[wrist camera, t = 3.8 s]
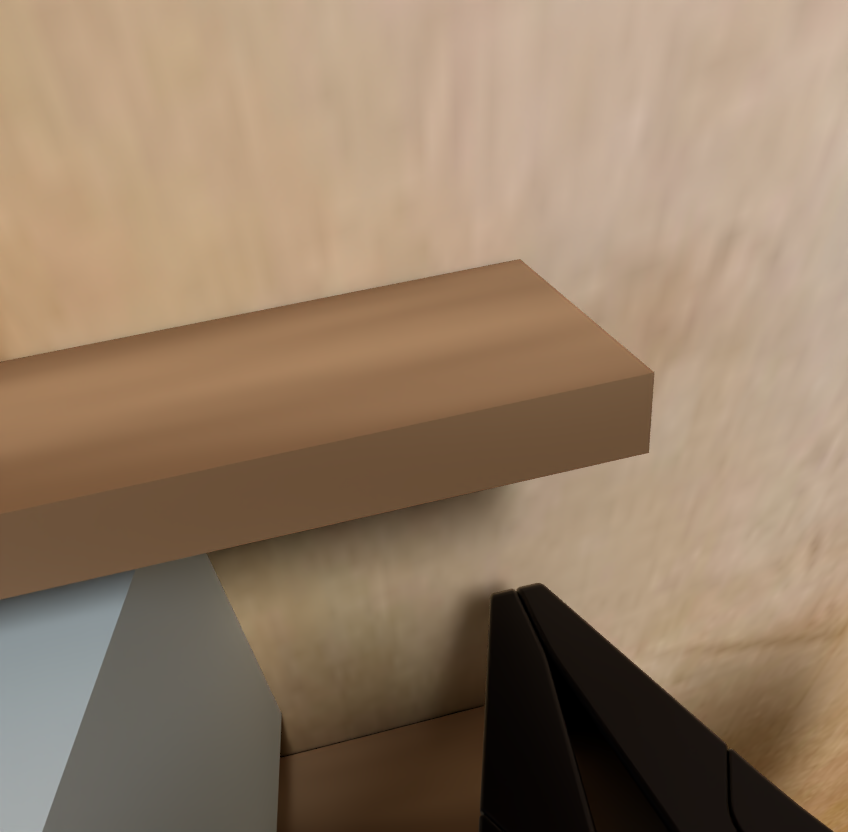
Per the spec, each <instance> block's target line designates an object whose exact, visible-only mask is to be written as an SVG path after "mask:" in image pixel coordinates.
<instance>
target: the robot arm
mask: <svg viewBox="0 0 848 832" xmlns="http://www.w3.org/2000/svg"><path fill="white" fill-rule="evenodd" d="M480 814H481V815H480V817H479V830H478V832H833V831H832V830H831V829H829V828H828V827H827V826H825V825H824V824H823V823H822V822H820V821H819V820H818V819H816V818H815V817H814V816H812V815H811V814H810V813H808V812H807V811H806V810H804V809H803V808H802V807H801V806H799V805H798V804H797V803H796V802H794V801H793V800H792V799H791V798H790V797H788V796H787V795H786V794H785V793H784V792H782V791H781V790H780V789H779V788H777V787H776V786H775V785H774V784H773V783H771V782H770V781H769V780H768V779H767V778H765V777H764V776H763V775H762V774H761V773H759V772H758V771H757V770H756V769H755V768H754V767H753V766H751V765H750V764H749V763H748V762H747V761H746V760H745V759H743V758H742V757H741V756H740V755H739V754H738V753H737V752H735V751H734V750H733V749H729V750H728V747H727V744H726V743H725V742H724V741H723V740H721V739H720V738H719V737H718V736H717V735H716V734H714V733H713V732H712V731H711V730H710V729H709V728H708V727H706V726H705V725H704V724H703V723H702V722H701V721H700V720H698V719H697V718H696V717H695V716H694V715H693V714H692V713H690V712H689V711H688V710H687V709H686V708H685V707H683V706H682V705H681V704H680V703H679V702H678V701H677V700H675V699H674V698H673V697H672V696H671V695H670V694H669V693H667V692H666V691H665V690H664V689H663V688H662V687H661V686H659V685H658V684H657V683H656V682H655V681H654V680H652V679H651V678H650V677H649V676H648V675H647V674H646V673H644V672H643V671H642V670H641V669H640V668H639V667H638V666H636V665H635V664H634V663H633V662H632V661H631V660H630V659H628V658H627V657H626V656H625V655H624V654H623V653H621V652H620V651H619V650H618V649H617V648H616V647H615V646H613V645H612V644H611V643H610V642H609V641H608V640H607V639H605V638H604V637H603V636H602V635H601V634H600V633H598V632H597V631H596V630H595V629H594V628H593V627H592V626H590V625H589V624H588V623H587V622H586V621H585V620H584V619H582V618H581V617H580V616H579V615H578V614H577V613H576V612H574V611H573V610H572V609H571V608H570V607H569V606H567V605H566V604H565V603H564V602H563V601H562V600H561V599H559V598H558V597H557V596H556V595H555V594H554V593H553V592H551V591H550V590H549V589H548V588H547V587H546V586H544V585H543V584H541V583H535V584H531V585H526V586H522V587H519V588H518V589H517V591H515V590H513V589H509V590H505V591H501V592H497V593H493V594H492V595H491V597H490V610H489V630H488V651H487V672H486V692H485V713H484V733H483V754H482V774H481V795H480Z"/></svg>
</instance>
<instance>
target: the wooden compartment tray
mask: <svg viewBox="0 0 848 832" xmlns="http://www.w3.org/2000/svg"><path fill="white" fill-rule="evenodd" d="M653 384H654V372H653V371H652V370H651V369H650V368H648V367H647V366H646V365H645V364H644V363H642V362H641V361H640V360H639V359H638V358H636V357H635V356H634V355H633V354H632V353H631V352H629V351H628V350H627V349H626V348H625V347H623V346H622V345H621V344H620V343H619V342H618V341H616V340H615V339H614V338H613V337H612V336H610V335H609V334H608V333H607V332H606V331H604V330H603V329H602V328H601V327H600V326H599V325H597V324H596V323H595V322H594V321H593V320H591V319H590V318H589V317H588V316H587V315H586V314H584V313H583V312H582V311H581V310H580V309H578V308H577V307H576V306H575V305H574V304H572V303H571V302H570V301H569V300H568V299H567V298H565V297H564V296H563V295H562V294H561V293H559V292H558V291H557V290H556V289H555V288H554V287H552V286H551V285H550V284H549V283H548V282H546V281H545V280H544V279H543V278H542V277H540V276H539V275H538V274H537V273H536V272H535V271H533V270H532V269H531V268H530V267H529V266H527V265H526V264H525V263H524V262H523V261H522V260H520V259H519V260H514V261H509V262H503V263H498V264H493V265H488V266H483V267H478V268H473V269H468V270H463V271H458V272H453V273H448V274H443V275H438V276H433V277H428V278H423V279H418V280H412V281H407V282H402V283H397V284H392V285H387V286H382V287H377V288H372V289H367V290H362V291H357V292H352V293H347V294H342V295H337V296H332V297H327V298H321V299H316V300H311V301H306V302H301V303H296V304H291V305H286V306H281V307H276V308H271V309H266V310H261V311H256V312H251V313H246V314H241V315H236V316H230V317H225V318H220V319H215V320H210V321H205V322H200V323H195V324H190V325H185V326H180V327H175V328H170V329H165V330H160V331H155V332H150V333H145V334H139V335H134V336H129V337H124V338H119V339H114V340H109V341H104V342H99V343H94V344H89V345H84V346H79V347H74V348H69V349H64V350H59V351H54V352H48V353H43V354H38V355H33V356H28V357H23V358H18V359H13V360H8V361H3V362H0V600H1V599H6V598H10V597H14V596H19V595H23V594H28V593H32V592H36V591H41V590H45V589H50V588H54V587H59V586H63V585H67V584H72V583H76V582H81V581H85V580H89V579H94V578H98V577H103V576H107V575H111V574H116V573H120V572H125V571H129V570H133V569H138V568H142V567H147V566H151V565H156V564H160V563H164V562H169V561H173V560H178V559H182V558H186V557H191V556H195V555H200V554H204V553H208V552H213V551H217V550H222V549H226V548H231V547H235V546H239V545H244V544H248V543H253V542H257V541H261V540H266V539H270V538H275V537H279V536H283V535H288V534H292V533H297V532H301V531H306V530H310V529H314V528H319V527H323V526H328V525H332V524H336V523H341V522H345V521H350V520H354V519H358V518H363V517H367V516H372V515H376V514H381V513H385V512H389V511H394V510H398V509H403V508H407V507H411V506H416V505H420V504H425V503H429V502H433V501H438V500H442V499H447V498H451V497H455V496H460V495H464V494H469V493H473V492H478V491H482V490H486V489H491V488H495V487H500V486H504V485H508V484H513V483H517V482H522V481H526V480H530V479H535V478H539V477H544V476H548V475H553V474H557V473H561V472H566V471H570V470H575V469H579V468H583V467H588V466H592V465H597V464H601V463H605V462H610V461H614V460H619V459H623V458H628V457H632V456H636V455H641V454H645V453H649V442H650V427H651V413H652V398H653ZM484 713H485V706H483V707H479V708H475V709H471V710H467V711H463V712H459V713H455V714H451V715H447V716H444V717H440V718H436V719H432V720H428V721H424V722H420V723H416V724H412V725H408V726H404V727H400V728H396V729H392V730H389V731H385V732H381V733H377V734H373V735H369V736H365V737H361V738H357V739H353V740H349V741H345V742H341V743H337V744H334V745H330V746H326V747H322V748H318V749H314V750H310V751H306V752H302V753H298V754H294V755H290V756H286V757H282V758H280V765H279V788H278V811H277V832H478V830H479V817H480V815H481V814H480V795H481V774H482V754H483V733H484Z"/></svg>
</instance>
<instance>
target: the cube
mask: <svg viewBox="0 0 848 832" xmlns="http://www.w3.org/2000/svg"><path fill="white" fill-rule="evenodd" d="M281 719H282V713H281V711H280V709H279V707H278V705H277V702H276V700H275V698H274V696H273V694H272V692H271V690H270V687H269V685H268V683H267V681H266V679H265V677H264V675H263V673H262V670H261V668H260V666H259V664H258V662H257V660H256V658H255V655H254V653H253V651H252V649H251V647H250V645H249V643H248V641H247V638H246V636H245V634H244V632H243V630H242V628H241V626H240V623H239V621H238V619H237V617H236V615H235V613H234V611H233V609H232V606H231V604H230V602H229V600H228V598H227V596H226V594H225V591H224V589H223V587H222V585H221V583H220V581H219V579H218V577H217V574H216V572H215V570H214V568H213V566H212V564H211V562H210V560H209V557H208V555H207V553H204V554H200V555H195V556H191V557H186V558H182V559H178V560H173V561H169V562H164V563H160V564H156V565H151V566H147V567H142V568H138V569H133V570H129V571H125V572H120V573H116V574H111V575H107V576H103V577H98V578H94V579H89V580H85V581H81V582H76V583H72V584H67V585H63V586H59V587H54V588H50V589H45V590H41V591H36V592H32V593H28V594H23V595H19V596H14V597H10V598H6V599H1V600H0V832H277V811H278V788H279V765H280V742H281Z"/></svg>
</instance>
